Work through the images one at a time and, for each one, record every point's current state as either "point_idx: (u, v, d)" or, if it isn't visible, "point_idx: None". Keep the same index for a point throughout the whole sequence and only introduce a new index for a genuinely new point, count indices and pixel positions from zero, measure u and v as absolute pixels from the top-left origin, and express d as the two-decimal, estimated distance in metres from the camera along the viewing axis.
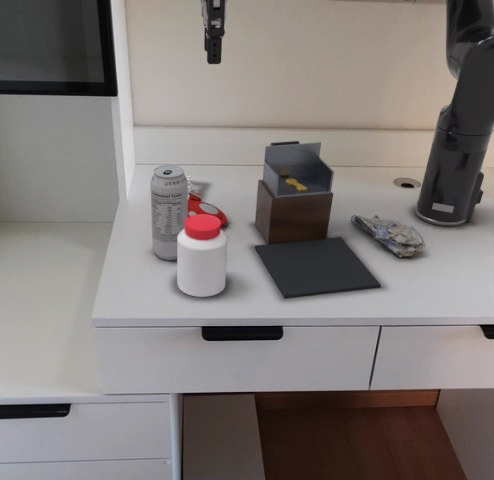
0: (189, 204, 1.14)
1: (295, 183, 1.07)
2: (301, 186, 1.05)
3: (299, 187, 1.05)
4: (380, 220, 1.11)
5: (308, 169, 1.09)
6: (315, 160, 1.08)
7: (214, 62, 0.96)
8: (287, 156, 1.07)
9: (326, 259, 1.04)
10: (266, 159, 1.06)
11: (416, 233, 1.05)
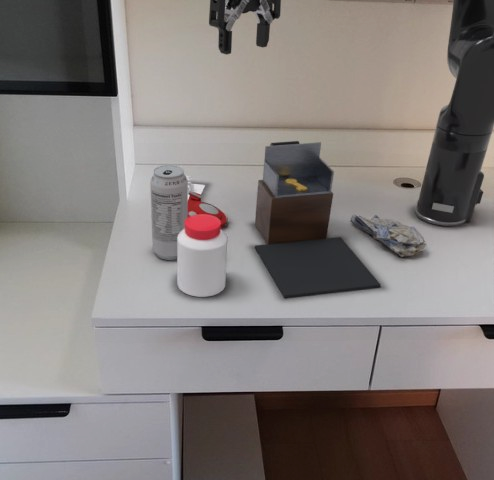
0: (189, 204, 1.14)
1: (295, 183, 1.07)
2: (301, 186, 1.05)
3: (299, 187, 1.05)
4: (380, 220, 1.11)
5: (308, 169, 1.09)
6: (315, 160, 1.08)
7: (224, 52, 1.05)
8: (287, 156, 1.07)
9: (326, 259, 1.04)
10: (266, 159, 1.06)
11: (417, 233, 1.05)
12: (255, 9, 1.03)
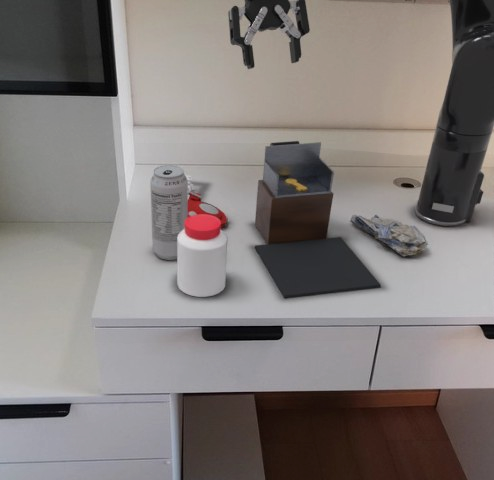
0: (189, 204, 1.14)
1: (295, 183, 1.07)
2: (301, 186, 1.05)
3: (299, 187, 1.05)
4: (381, 220, 1.12)
5: (308, 169, 1.09)
6: (315, 160, 1.08)
7: (249, 67, 1.11)
8: (287, 156, 1.07)
9: (326, 259, 1.04)
10: (266, 159, 1.06)
11: (418, 232, 1.05)
12: (277, 25, 1.09)
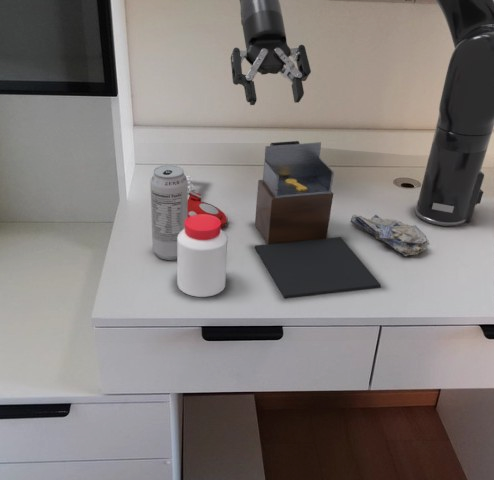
0: (189, 204, 1.14)
1: (295, 183, 1.07)
2: (301, 186, 1.05)
3: (299, 187, 1.05)
4: (381, 220, 1.12)
5: (308, 169, 1.09)
6: (315, 160, 1.08)
7: (251, 101, 1.11)
8: (287, 156, 1.07)
9: (326, 259, 1.04)
10: (266, 159, 1.06)
11: (420, 232, 1.05)
12: (278, 66, 1.12)
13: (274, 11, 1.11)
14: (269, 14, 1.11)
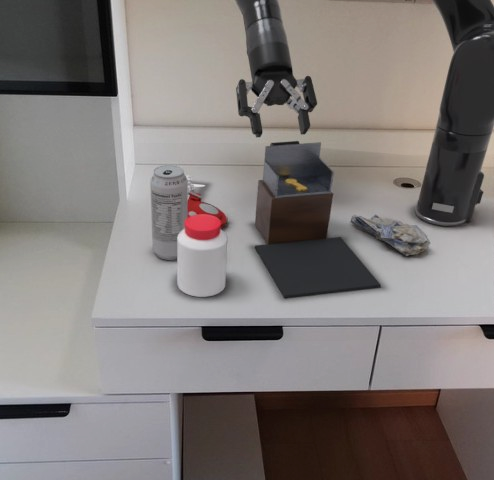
0: (189, 204, 1.14)
1: (295, 183, 1.07)
2: (301, 186, 1.05)
3: (299, 187, 1.05)
4: (381, 219, 1.12)
5: (308, 169, 1.09)
6: (315, 160, 1.08)
7: (257, 134, 1.10)
8: (287, 156, 1.07)
9: (326, 259, 1.04)
10: (266, 159, 1.06)
11: (420, 231, 1.06)
12: (284, 97, 1.11)
13: (281, 43, 1.10)
14: (275, 46, 1.09)
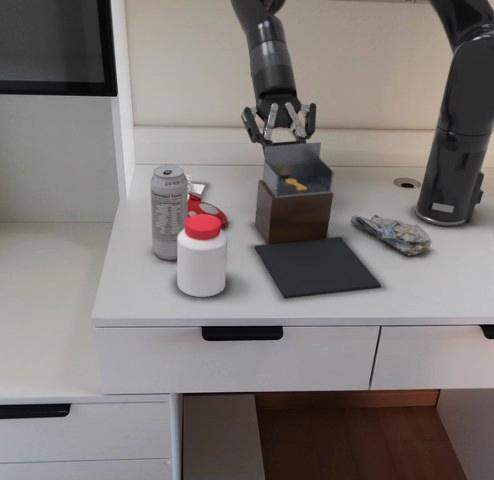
0: (189, 204, 1.14)
1: (295, 183, 1.07)
2: (301, 186, 1.05)
3: (299, 187, 1.05)
4: (381, 219, 1.12)
5: (308, 169, 1.09)
6: (315, 160, 1.08)
7: None
8: (287, 156, 1.07)
9: (326, 259, 1.04)
10: (266, 159, 1.06)
11: (421, 231, 1.06)
12: (289, 120, 1.10)
13: (285, 65, 1.09)
14: (279, 68, 1.08)
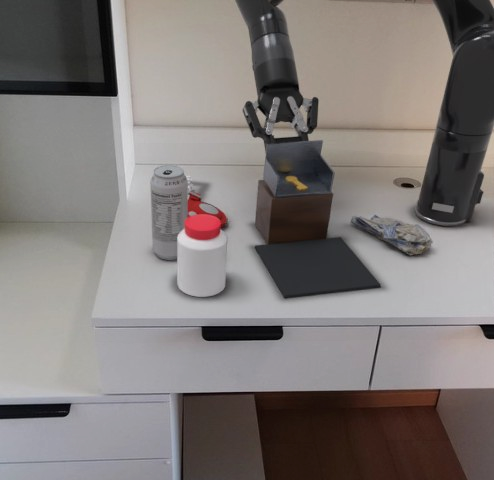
0: (189, 204, 1.14)
1: (295, 181, 1.06)
2: (301, 185, 1.05)
3: (299, 186, 1.05)
4: (382, 219, 1.12)
5: (309, 166, 1.08)
6: (316, 157, 1.07)
7: None
8: (288, 154, 1.06)
9: (326, 259, 1.04)
10: (267, 156, 1.05)
11: (422, 230, 1.06)
12: (290, 115, 1.09)
13: (287, 59, 1.08)
14: (282, 62, 1.07)
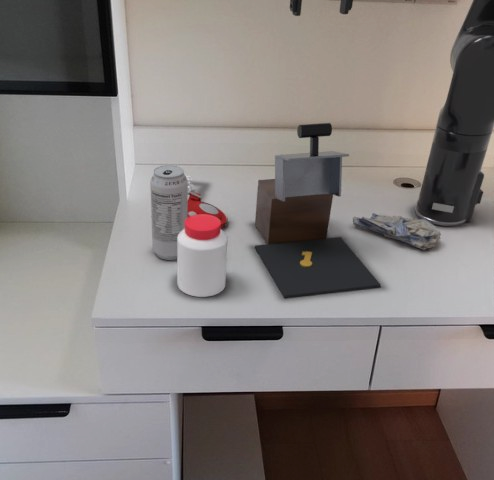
0: (189, 204, 1.14)
1: None
2: None
3: None
4: (384, 217, 1.12)
5: None
6: None
7: (294, 13, 1.03)
8: None
9: (326, 259, 1.04)
10: (285, 159, 0.97)
11: (430, 224, 1.08)
12: None
13: None
14: None
